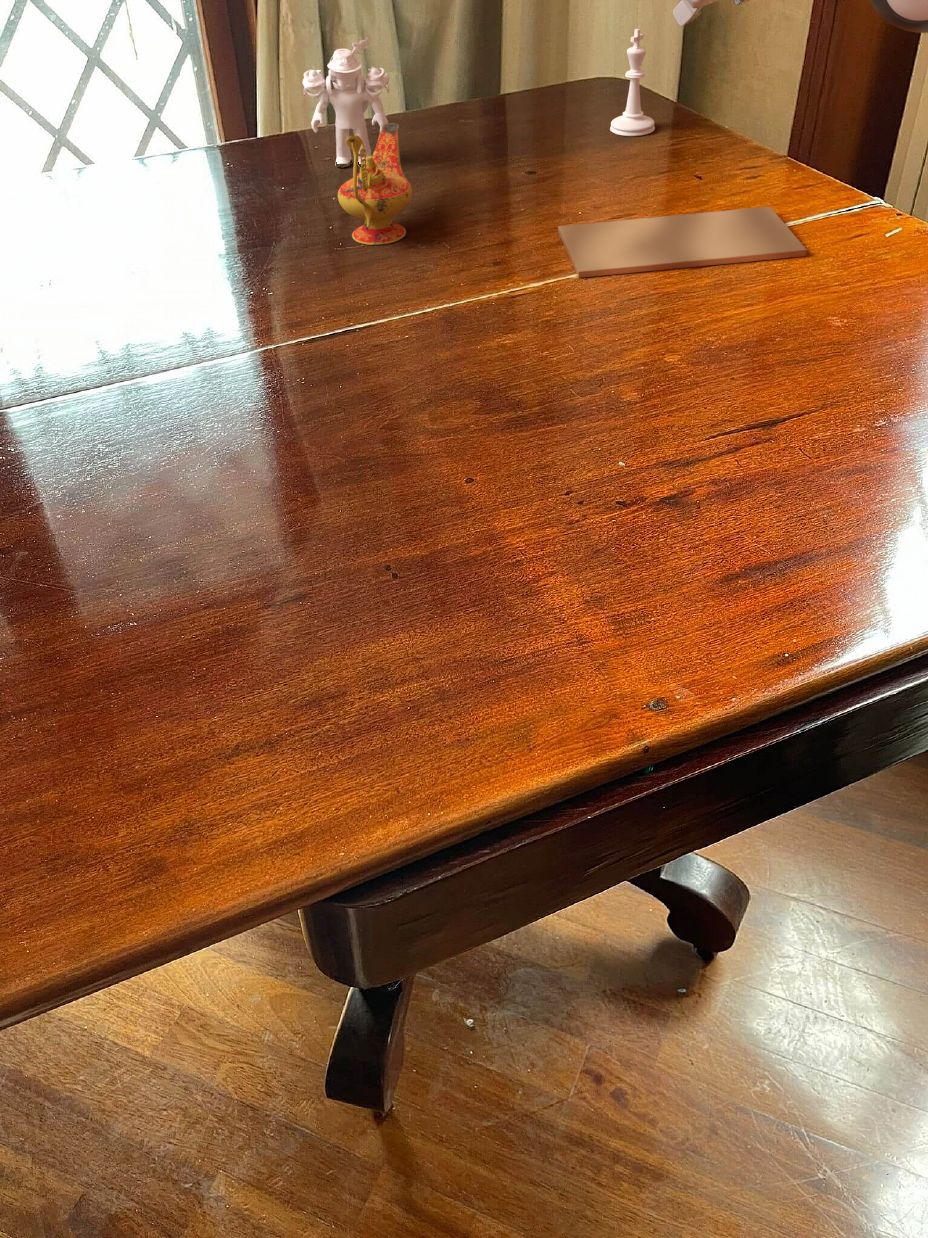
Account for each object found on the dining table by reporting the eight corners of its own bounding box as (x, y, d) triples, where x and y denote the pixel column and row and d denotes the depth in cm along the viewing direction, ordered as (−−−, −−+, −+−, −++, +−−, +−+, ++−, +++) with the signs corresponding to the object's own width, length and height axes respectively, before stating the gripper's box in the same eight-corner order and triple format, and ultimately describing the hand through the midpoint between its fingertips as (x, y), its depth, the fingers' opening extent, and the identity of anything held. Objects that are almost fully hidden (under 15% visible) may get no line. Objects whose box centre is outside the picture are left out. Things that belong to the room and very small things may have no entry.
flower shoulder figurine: (397, 155, 118) (387, 33, 110) (394, 168, 115) (382, 43, 107) (315, 157, 119) (299, 36, 111) (309, 170, 116) (292, 47, 108)
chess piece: (663, 126, 121) (670, 27, 114) (636, 139, 118) (642, 38, 112) (628, 118, 124) (632, 20, 117) (600, 130, 121) (604, 31, 114)
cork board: (769, 212, 102) (770, 206, 102) (806, 256, 95) (807, 249, 94) (557, 232, 101) (557, 225, 101) (578, 278, 94) (578, 271, 93)
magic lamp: (432, 191, 110) (424, 73, 103) (401, 267, 97) (390, 138, 90) (365, 191, 111) (353, 74, 104) (326, 266, 98) (308, 138, 90)
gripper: (767, -47, 91) (661, 61, 102) (889, -88, 101) (781, 14, 113) (728, -116, 90) (626, 1, 102) (855, -150, 101) (750, -41, 112)
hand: (708, 7), depth 107 cm, fingers open, 8 cm apart
